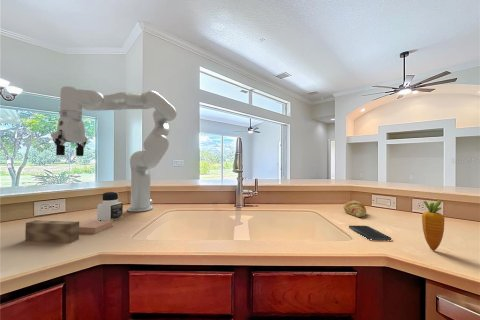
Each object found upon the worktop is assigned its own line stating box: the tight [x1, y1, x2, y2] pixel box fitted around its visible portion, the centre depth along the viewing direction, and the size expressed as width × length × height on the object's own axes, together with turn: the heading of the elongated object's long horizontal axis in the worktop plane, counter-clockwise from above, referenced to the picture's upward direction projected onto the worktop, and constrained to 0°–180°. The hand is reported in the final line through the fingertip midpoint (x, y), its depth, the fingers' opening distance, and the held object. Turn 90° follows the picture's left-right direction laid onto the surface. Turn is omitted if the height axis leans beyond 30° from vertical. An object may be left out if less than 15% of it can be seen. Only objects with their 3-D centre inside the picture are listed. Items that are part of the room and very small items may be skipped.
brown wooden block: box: [24, 219, 80, 243], centre depth 71 cm, size 16×3×6 cm, turn 85°
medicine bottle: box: [96, 191, 124, 221], centre depth 98 cm, size 7×7×12 cm
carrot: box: [421, 200, 445, 251], centre depth 64 cm, size 5×5×15 cm
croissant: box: [343, 199, 367, 218], centre depth 112 cm, size 21×10×8 cm, turn 166°
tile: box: [79, 220, 114, 235], centre depth 82 cm, size 3×9×8 cm
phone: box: [348, 225, 393, 240], centre depth 80 cm, size 8×1×15 cm
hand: (70, 155), depth 94 cm, fingers open, 9 cm apart
